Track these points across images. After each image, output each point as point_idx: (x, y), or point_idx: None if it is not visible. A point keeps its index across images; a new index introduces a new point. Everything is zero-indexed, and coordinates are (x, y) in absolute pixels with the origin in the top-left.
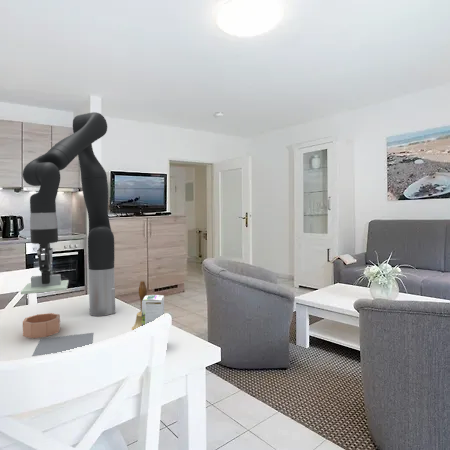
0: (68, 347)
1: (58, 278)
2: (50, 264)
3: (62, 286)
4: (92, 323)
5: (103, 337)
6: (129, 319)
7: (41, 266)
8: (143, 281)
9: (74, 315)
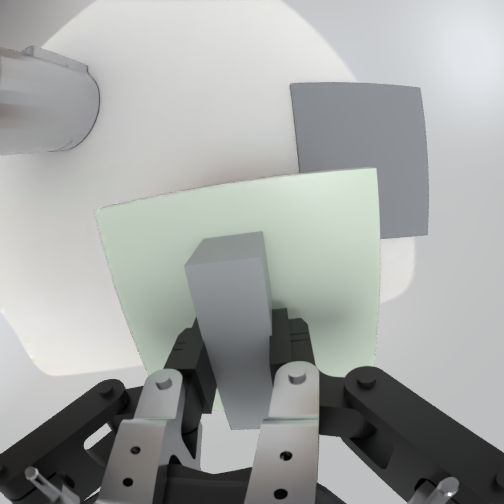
0: (402, 149)
1: (262, 259)
2: (176, 407)
3: (329, 202)
4: (166, 109)
5: (324, 56)
6: (160, 6)
7: (370, 441)
8: None
9: (75, 196)
